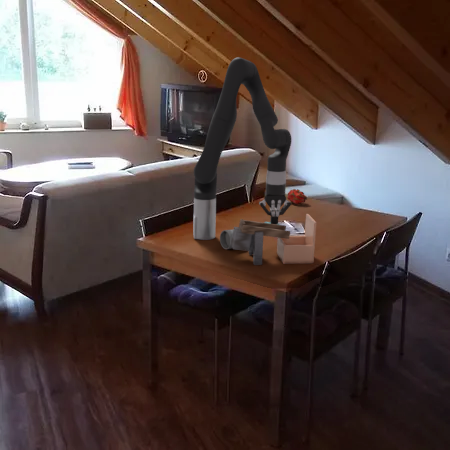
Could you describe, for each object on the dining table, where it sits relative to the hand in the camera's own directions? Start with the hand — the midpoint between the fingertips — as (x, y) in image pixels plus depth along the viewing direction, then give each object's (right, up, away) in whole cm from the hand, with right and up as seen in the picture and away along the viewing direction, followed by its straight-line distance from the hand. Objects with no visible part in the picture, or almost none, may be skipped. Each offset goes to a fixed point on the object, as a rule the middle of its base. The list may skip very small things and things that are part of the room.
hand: (274, 225), depth 217 cm
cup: (+8, -13, -4) cm, 15 cm away
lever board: (-7, -8, -3) cm, 11 cm away
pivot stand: (-8, -13, -6) cm, 16 cm away
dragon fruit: (+19, +11, +78) cm, 81 cm away
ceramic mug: (-17, -9, +8) cm, 21 cm away
